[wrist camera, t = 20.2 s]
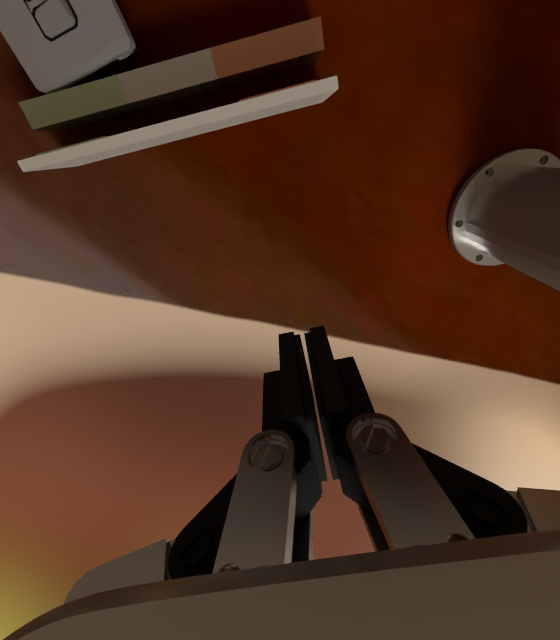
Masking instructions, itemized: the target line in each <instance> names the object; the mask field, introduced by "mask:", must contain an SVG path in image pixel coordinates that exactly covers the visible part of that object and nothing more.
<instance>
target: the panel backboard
mask: <svg viewBox="0 0 560 640" xmlns="http://www.w3.org/2000/svg"><path fill="white" fill-rule="evenodd" d="M337 90H338V79H337V76H334V77H330V78H326V79H323V80H319V81H316V79H315V80H311V81H308V82H304V83H300V84H297V85H293V86H289V87H285V88H282V89H278V90H274V91H270V92H267V93H263V94H259V95H255V96H252V97H248V98H244V99H241V100H238V101H239V102H237V103H233V104H229V105H225V106H222V107H218V108H214V109H210V110H207V111H203V112H199V113H195V114H192V115H188V116H184V117H180V118H177V119H173V120H169V121H165V122H162V123H158V124H154V125H151V126H147V127H143V128H139V129H136V130H132V131H128V132H124V133H121V134H117V135H113V136H102V137H99V138H95V139H91V140H88V141H84V142H80V143H76V144H73V145H69V146H65V147H61V148H58V149H54V150H50V151H47V152H43V153H39V154H35V155H36V156H35V157H31V158H27V159H23V160H20V161H17V162H18V164H19V166H20V167H21V169H22V171H23V172H28V171H37V170H47V169H56V168H65V167H75V166H80V165H84V164H88V163H92V162H96V161H99V160H103V159H107V158H111V157H115V156H118V155H122V154H126V153H130V152H134V151H138V150H141V149H145V148H149V147H153V146H157V145H161V144H164V143H168V142H172V141H176V140H180V139H184V138H187V137H191V136H195V135H199V134H203V133H207V132H210V131H214V130H218V129H222V128H226V127H230V126H233V125H237V124H241V123H245V122H249V121H253V120H256V119H260V118H264V117H268V116H272V115H276V114H279V113H283V112H287V111H291V110H295V109H299V108H302V107H306V106H310V105H314V104H318V103H322V102H323V101H325V100H326V99H327V98H328V97H329V96H331V95H332V94H333V93H334V92H335V91H337Z"/></svg>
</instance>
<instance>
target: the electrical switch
mask: <svg viewBox="0 0 560 640" xmlns="http://www.w3.org/2000/svg"><path fill="white" fill-rule="evenodd" d="M0 31H1V33H2V35H3V36H4V38H5V39H6V41H7V43H8V44H9V46H10V47H11V49H12V51H13V52H14V54H15V55H16V57H17V58H18V60H19V62H20V63H21V65H22V66H23V68H24V70H25V71H26V73H27V74H28V76H29V78H30V79H31V81H32V82H33V84H34V86H35V87H36V88H37V89H38V90H39V91H41V92H43V93H45V94H50V93H54V92H57V91H61V90H64V89H65V88H70V87H72V86H73V85H75V84H77V83H79V82H81V81H83V80H85V79H87V78H89V77H90V76H92V75H94V74H96V73H98V72H100V71H102V70H104V69H106V68H107V67H109V66H111V65H113V64H115V63H117V62H119V61H121V60H123V59H125V58H126V57H128V56H130V55H132V54H134V53H136V51H138V50H137V48H136V46H135V43H134V40H133V37H132V35H131V33H130V31H129V29H128V27H127V24H126V22H125V20H124V18H123V16H122V14H121V12H120V9H119V7H118V5H117V3H116V1H115V0H0Z"/></svg>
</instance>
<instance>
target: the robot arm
mask: <svg viewBox="0 0 560 640" xmlns="http://www.w3.org/2000/svg"><path fill="white" fill-rule="evenodd" d="M456 222H457V223H456ZM455 223H456V224H455ZM448 233H449V238H450V241H451V244H452V246H453V247H454V249H455V251H456V252H457V253H458V254H459V255H460V256H462V257H463V258H465V259H466V260H468V261H470V262H472V263H474V264H478V265H484V266H493V265H500V264H507V265H509V266H511V267H513V268H515V269H517V270H519V271H521V272H523V273H525V274H527V275H529V276H531V277H533V278H535V279H537V280H539V281H541V282H543V283H545V284H547V285H549V286H551V287H553V288H555V289H557V290H559V291H560V159H559V158H557V157H556V156H555V155H553V154H552V153H550V152H547V151H544V150H542V149H531V148H530V149H516V150H512V151H508V152H505V153H503V154H501V155H498V156H496V157H494V158H493V159H491V160H489V161H488V162H486V163H485V164H483V165H482V166H481V167H480V168H479V169H477V170H476V171H475V172H474V173H473V174H472V175H471V176H470V177H469V178H468V180H467V181H466V182H465V183H464V184H463V186H462V187H461V189H460V190H459V192H458V193H457V196H456V198H455V200H454V202H453V204H452V207H451V211H450V214H449V220H448ZM309 330H310V332H309V333H305V340H306V346H307V352H308V357H309V363H310V368H311V374H312V380H313V385H314V391H315V397H316V401H317V408H318V413H319V418H320V423H321V427H322V431H323V436H324V441H325V445H326V450H327V455H328V459H329V464H330V469H331V473H332V478H333V480H335V479H340V482H341V487H342V490H343V494H345V495H346V496H347V497H349V498H350V499H352V500H353V501H354V502H356V503H357V505H358V509H359V512H360V515H361V517H362V520H363V522H364V525H365V527H366V530H367V532H368V535H369V537H370V540H371V543H372V545H373V548H374V550H375V552H370V553H363V554H355V555H347V556H340V557H332V558H325V559H317V560H313V522H314V520H313V519H314V514H313V508H314V506H315V505H316V503H317V502H318V501H319V499H320V498H321V493H322V485H321V482H323V481H327V475H326V469H325V463H324V457H323V451H322V446H321V440H320V434H319V428H318V422H317V416H316V410H315V404H314V398H313V393H312V388H311V384H310V379H309V374H308V370H307V365H306V361H305V356H304V351H303V347H302V342H301V338H300V335H294V333H293V332H289V333H284V334H279V355H280V370H278V371H273V372H268V373H265V374H264V383H263V386H264V387H263V415H262V416H263V417H262V432H260V433H258V434H256V435H255V436H254V437H252V438H251V439H250V440H249V442H248V443H247V444H246V446H245V448H244V450H243V453H242V457H241V461H240V465H239V469H238V473H237V474H236V475H235V476H234V477H233V478H232V479H231V480H230V481H229V482H228V483H227V484H226V486H224V487H223V488H222V490H220V492H219V493H218V494H217V495H216V496H215V497H214V498H213V499H212V500H211V501H210V502H209V503H208V504H207V505H206V506H205V507H204V508H203V509H202V510H201V511H200V512H199V513H198V514H197V515H196V516H195V517H194V518H193V519H192V520H191V521H190V523H188V525H187V526H186V527H185V528H184V529H183V530H182V531H181V532H180V534H179V535H178V536H177V537H176V539H174V540H171V541H168V540H167V538H166V539H163V540H161V541H158V542H156V543H153V544H151V545H149V546H146V547H144V548H141V549H139V550H136V551H134V552H132V553H129V554H127V555H124V556H122V557H119V558H117V559H115V560H112V561H109V562H107V563H104V564H102V565H100V566H97V567H95V568H93V569H92V570H90V571H88V572H87V573H85V574H84V576H82V577H81V578H80V579H79V580H78V581H77V582H76V584H75V585H74V586H73V588H72V589H71V591H70V592H69V594H68V595H67V598H66V600H65V602H64V604H63V605H61V606H58V607H56V608H54V609H52V610H50V611H48V612H46V613H45V614H43V615H41V616H39V617H37V618H35V619H33V620H32V621H30V622H29V623H27V624H26V625H24V626H22V627H21V628H19V629H17V630H16V631H14V632H13V633H12V634H10V635H9V636H7V637H6V638H5V639H3V640H560V491H558V490H545V489H532V488H519V487H518V489H517V492H515V491H506V490H504V489H503V488H501V487H499V486H498V485H496V484H494V483H492V482H490V481H488V480H486V479H484V478H482V477H480V476H478V475H476V474H474V473H472V472H470V471H468V470H466V469H464V468H461V467H460V466H458V465H455V464H453V463H451V462H449V461H447V460H445V459H443V458H441V457H439V456H437V455H435V454H433V453H431V452H429V451H427V450H425V449H422V448H421V447H418V446H416V445H414V444H412V443H411V442H410V440H409V439H408V437H407V436H406V434H405V433H404V431H403V430H402V428H401V427H400V426H399V424H398V423H397V422H396V421H395V420H393V419H392V418H390V417H388V416H386V415H383V414H380V413H375V412H374V409H373V406H372V404H371V401H370V398H369V396H368V393H367V391H366V388H365V386H364V383H363V381H362V378H361V375H360V373H359V370H358V368H357V365H356V363H355V360H354V358H353V357H347V358H342V359H337V360H334V358H333V355H332V352H331V348H330V345H329V341H328V338H327V334H326V331H325V328H324V326H319V327H314V328H309Z"/></svg>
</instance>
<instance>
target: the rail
mask: <svg viewBox="0 0 560 640" xmlns="http://www.w3.org/2000/svg"><path fill="white" fill-rule="evenodd" d="M323 51H324V42H323V33H322V24H321V16H320V17H317V18H313V19H310V20H306V21H303V22H299V23H296V24H292V25H289V26H285V27H282V28H278V29H275V30H271V31H268V32H264V33H261V34H257V35H254V36H250V37H247V38H243V39H240V40H236V41H233V42H229V43H226V44H222V45H219V46H215V47H212V48H208V49H205V50H201V51H198V52H194V53H191V54H187V55H184V56H180V57H177V58H173V59H170V60H166V61H162V62H159V63H155V64H152V65H148V66H145V67H141V68H138V69H134V70H131V71H127V72H124V73H120V74H117V75H113V76H110V77H106V78H103V79H99V80H96V81H92V82H89V83H85V84H82V85H78V86H75V87H71V88H68V89H64V90H61V91H57V92H54V93H50V94H47V95H43V96H40V97H36V98H33V99H29V100H26V101H22V102H19V105H20V107H21V109H22V110H23V112H24V114H25V116H26V118H27V120H28V122H29V124H30V125H31V127H32V129H33V130H43V131H58V132H61V131H64V130H68V129H72V128H75V127H79V126H83V125H86V124H90V123H94V122H97V121H101V120H105V119H108V118H112V117H116V116H119V115H123V114H127V113H130V112H134V111H138V110H141V109H145V108H149V107H152V106H156V105H160V104H163V103H167V102H171V101H174V100H178V99H182V98H185V97H189V96H193V95H196V94H200V93H204V92H207V91H211V90H215V89H218V88H222V87H226V86H229V85H233V84H237V83H240V82H244V81H248V80H251V79H255V78H259V77H262V76H266V75H270V74H273V73H277V72H281V71H284V70H288V69H292V68H295V67H299V66H303V65H306V64H310V63H314V62H317V61H318V60H319V58H320V56H321V54H322V53H323Z"/></svg>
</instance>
